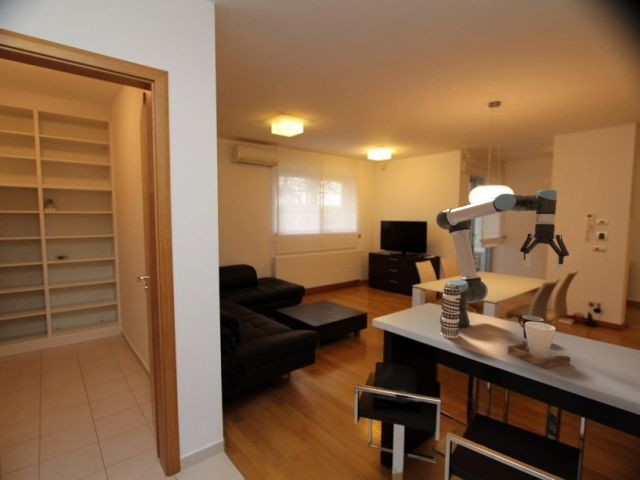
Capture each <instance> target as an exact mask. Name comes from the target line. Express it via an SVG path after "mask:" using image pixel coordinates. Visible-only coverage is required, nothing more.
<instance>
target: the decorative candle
mask: <svg viewBox="0 0 640 480" xmlns="http://www.w3.org/2000/svg"><path fill="white" fill-rule="evenodd" d="M445 284H446V283H445ZM445 284H444V286H443V292H442V296H441V314H442V312H443V314H442V320H441V322H442V323H441V322H440V325H441V326H440V335H441V336H442V337H445V338H449V339H456V338H459V336H460V335H459V334H460V332H459V331H460V328H458V327H459V325H458V324H459V323H460V322H459V313H460V309H459V307H461V306H460V305H459V304H461V302H459V300H462V299H461V298H460V289H461V288H459V286H458V285H455V284H446V285H445Z"/></svg>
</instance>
